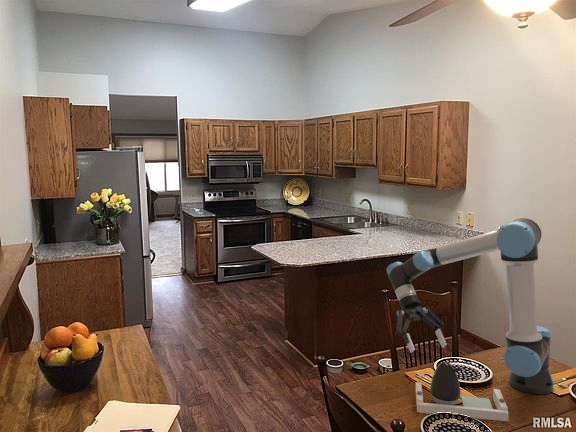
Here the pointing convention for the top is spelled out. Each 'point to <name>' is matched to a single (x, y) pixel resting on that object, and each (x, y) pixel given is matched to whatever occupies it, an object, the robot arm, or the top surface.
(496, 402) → the track
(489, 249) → the robot arm
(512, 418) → the top surface
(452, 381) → the dark grey tapered dome
